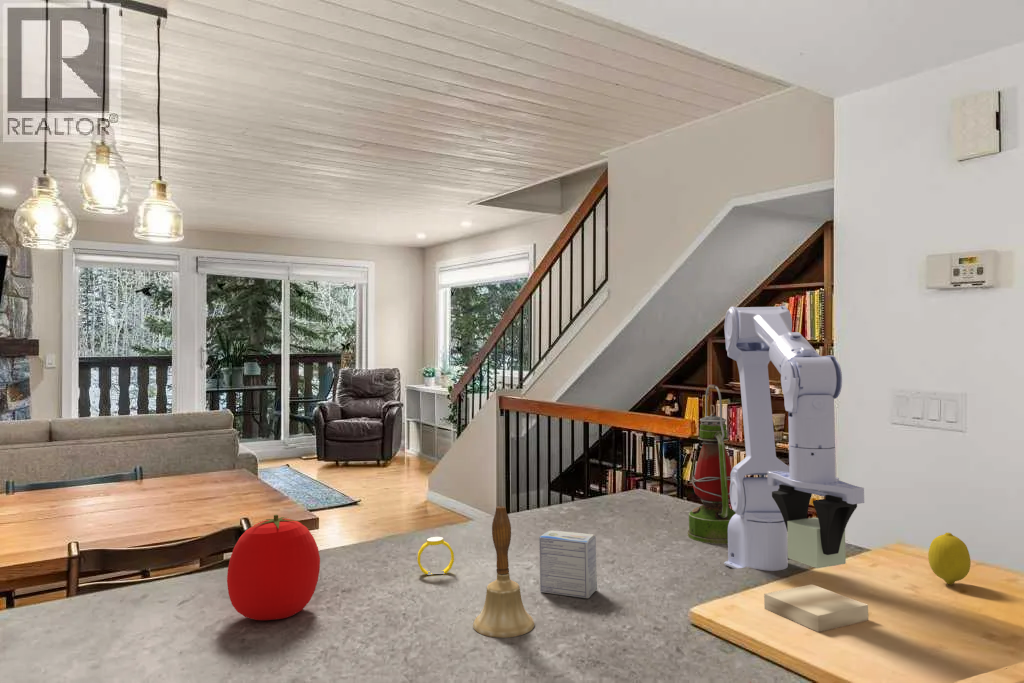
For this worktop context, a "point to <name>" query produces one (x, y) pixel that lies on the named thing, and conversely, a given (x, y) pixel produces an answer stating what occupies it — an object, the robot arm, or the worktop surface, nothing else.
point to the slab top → (816, 607)
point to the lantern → (712, 481)
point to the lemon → (949, 558)
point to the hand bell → (503, 590)
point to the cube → (811, 544)
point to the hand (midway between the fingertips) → (813, 548)
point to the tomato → (273, 569)
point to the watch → (435, 542)
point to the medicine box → (568, 563)
